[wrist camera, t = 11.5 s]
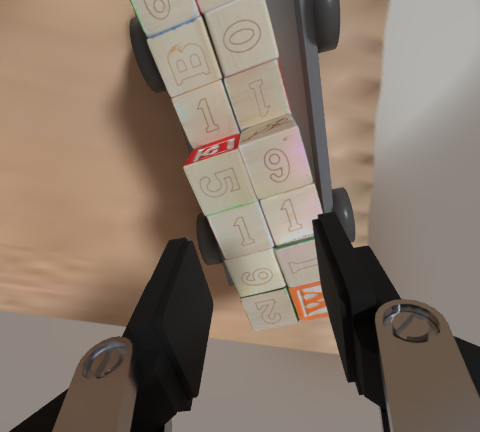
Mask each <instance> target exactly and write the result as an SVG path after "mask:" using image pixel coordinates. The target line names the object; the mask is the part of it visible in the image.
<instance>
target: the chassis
mask: <svg viewBox="0 0 480 432" xmlns="http://www.w3.org/2000/svg"><path fill="white" fill-rule="evenodd" d="M265 1H266V5H267V9H268V13H269V16H270V20H271V24H272V28H273V32H274V36H275V40H276V44H277V48H278V53H279V57H278V61H279V65H280V69H281V73H282V77H283V81H284V85H285V89H286V93H287V97H288V101H289V105H290V108H291V112H292V116H293V118H294V120H295V121H296V123H297V125H298V127H299V130H300V134H301V138H302V141H303V145H304V148H305V152H306V155H307V159H308V163H309V166H310V170H311V173H312V177H313V181H314V184H315V186H316V189H317V193H318V196H319V200H320V203H321V207H322V210H323V213H329V212H335V213H336V215H337V217H338V219H339V221H340V223H341V225H342V227H343V228H344V230H345V232H346V234H347V236H348V238H349V240H350V242H354V240H355V222H354V216H353V211H352V206H351V202H350V199H349V196H348V194H347V192H346V190H345V188H343V187H342V188H336V189H332V188H331V178H330V168H329V158H328V148H327V138H326V128H325V118H324V108H323V99H322V89H321V79H320V69H319V59H318V53H321V52H325V51H330V50H334V49H335V48H336V47H337V44H338V40H339V33H340V2H339V0H265ZM130 37H131V43H132V47H133V51H134V54H135V57H136V60H137V63H138V65H139V68H140V70H141V72H142V74H143V77H144V78H145V80H146V82H147V83H148V85H149V86H150V88H151V89H152V90H153V91H154V92H156V93H159V92H163V91H167V89H166V86H165V84H164V81H163V79H162V77H161V74H160V72H159V70H158V67H157V65H156V63H155V60H154V58H153V56H152V53H151V51H150V49H149V46H148V43H147V36H146V35H145V33H144V31H143V29H142V27H141V25H140V23H139V20H138V18H137V17H136V18H133V19H131V21H130ZM180 123H181V122H180ZM181 126H182V125H181ZM182 129H183V127H182ZM183 133H184V136H185V139H186V143H187V146H188V149H189V153H191V151H193V150H194V149H193V148H192V146H191V144H190V143H189V141H188V138H187V136H186V134H185V131H184V129H183ZM197 239H198V244H199V249H200V252H201V255H202V258H203V260H204V262H205V263H206V264H207V265H212V264H218V263H223V266H224V269H225V272H226V276H227V279H228V282H229V286H232V285H235V284H234V282H233V280H232V278H231V275H230V273H229V271H228V269H227V266H226V264H225V261H224V255H223V253H222V251H221V249H220V247H219V244H218V242H217V240H216V238H215V235H214V233H213V231H212V229H211V226H210V224H209V221H208V219H207V217H206V216H205V215H204V214H203V213H201V214H199V215H198V217H197Z"/></svg>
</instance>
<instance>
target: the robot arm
mask: <svg viewBox="0 0 480 432" xmlns="http://www.w3.org/2000/svg"><path fill="white" fill-rule="evenodd" d="M312 225H313V232H314V240H315V247H316V254H317V261H318V269H319V276H320V283H321V289H322V293H323V297H324V300H325V304H326V307H327V311H328V314H329V318H330V322H331V325H332V329H333V332H334V336H335V339H336V343H337V346H338V350H339V354H340V357H341V361H342V364H343V368H344V371H345V375H346V378H347V381H348V383H349V382H355V383H356V386H357V390H358V393H359V395H364V396H365V397H366V398H368V399H369V400H371V401H372V402H374V403H375V404H377V405H378V406H379V412H380V419H381V427H382V432H480V347H479V346H476V345H474V344H472V343H469V342H467V341H464V340H462V339H460V338H457V337H455V336H453V334H452V332H451V329H450V327H449V325H448V322H447V321H446V320H445V318H444V316H443V315H442V314H441V313H440V312H438V311H437V310H436V309H435V308H433V307H431V306H429V305H427V304H425V303H422V302H419V301H415V300H406V299H401V298H400V296H399V295H398V293H397V291H396V290H395V288H394V286H393V285H392V283H391V281H390V280H389V278H388V277H387V275H386V273H385V271H384V270H383V268H382V266H381V265H380V263H379V261H378V260H377V258H376V256H375V255H374V253H373V251H372V250H371V248H370V247H369V246H362V247H356V248H353V246H352V244H351V242H350V240H349V238H348V236H347V234H346V232H345V230H344V228H343V227H342V225H341V223H340V221H339V219H338V217H337V215H336V213H335V212H329V213H323V214H318V219H313V220H312ZM212 312H213V300H212V296H211V294H210V291H209V288H208V285H207V282H206V279H205V276H204V273H203V270H202V267H201V264H200V261H199V258H198V255H197V252H196V249H195V246H194V244H193V242H192V241H188V240H187V239H186V238H180V239H174V240H169V242H168V243H167V246H166V248H165V250H164V252H163V254H162V256H161V258H160V260H159V262H158V265H157V267H156V269H155V271H154V273H153V275H152V277H151V279H150V281H149V282H148V284H147V286H146V288H145V290H144V292H143V294H142V296H141V298H140V300H139V302H138V304H137V306H136V308H135V311H134V313H133V315H132V317H131V319H130V321H129V323H128V325H127V327H126V329H125V331H124V334H123V336H122V337H119V336H118V337H112V338H109V339H107V340H104V341H102V342H100V343H99V344H97V345H95V346H94V347H93V348H92V349H90V350H89V351H88V352H87V353H86V354H85V355H84V357H83V358H82V359H81V360H80V362H79V364H78V366H77V368H76V371H75V373H74V376H73V378H72V381H71V384H70V386H69V388H68V389H67V390H66V391H64V392H63V393H61V394H60V395H59V396H57V397H56V398H55V399H53V400H52V401H50V402H49V403H48V404H46V405H45V406H44V407H42V408H41V409H40V410H38V411H37V412H35V413H34V414H33V415H31V416H30V417H29V418H27V419H26V420H24V421H23V422H22V423H20V424H19V425H18V426H16V427H15V428H13V429H12V430H11V431H9V432H172V420H171V418H172V417H173V416H175V415H176V413H177V412H182V411H190V410H191V405H192V399H193V398H196V397H197V396H198V394H199V388H200V383H201V377H202V371H203V364H204V359H205V353H206V347H207V341H208V336H209V330H210V324H211V318H212Z"/></svg>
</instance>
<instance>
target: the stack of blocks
mask: <svg viewBox="0 0 480 432" xmlns="http://www.w3.org/2000/svg"><path fill="white" fill-rule="evenodd" d="M130 1H131V4H132V6H133V8H134V11H135V13H136V16H137V18H138V20H139V23H140V25H141V27H142V29H143V31H144V33H145V35H146V36H147V43H148V46H149V49H150V51H151V53H152V56H153V58H154V60H155V63H156V65H157V67H158V70H159V72H160V74H161V77H162V79H163V81H164V84H165V86H166V89H167V91H168V93H169V95H170V97H171V100H172V103H173V106H174V108H175V111H176V113H177V116H178V118H179V120H180V122H181V125H182V127H183V129H184V131H185V134H186V136H187V138H188V141H189V143H190V144H191V146H192V148H193V149H194V150H193V151H191V153H190V155H189V157H188V158H187V159H186V161H185V163H184V164H183V170H184V172H185V174H186V176H187V178H188V181H189V183H190V185H191V187H192V189H193V191H194V194H195V196H196V198H197V200H198V203H199V205H200V207H201V209H202V211H203V214H204V215H205V216H206V217H207V219H208V221H209V224H210V226H211V229H212V231H213V233H214V235H215V238H216V240H217V242H218V244H219V247H220V249H221V251H222V253H223V255H224V261H225V264H226V266H227V269H228V271H229V273H230V275H231V278H232V280H233V282H234V284H235V287H236V289H237V291H238V294H239V295H240V296H241V302H242V304H243V307H244V309H245V312H246V314H247V316H248V319H249V321H250V323H251V326H252V328H253V330H254V331H261V330H265V329H270V328H275V327H280V326H286V325H292V324H296V323H297V322H298V320H300V321H310V320H314V319H318V318H323V317H327V316H329V314H328V311H327V307H326V304H325V300H324V297H323V293H322V289H321V283H320V276H319V269H318V261H317V254H316V247H315V240H314V232H313V225H312V220H313V219H318V214H323V210H322V207H321V203H320V200H319V196H318V193H317V189H316V186H315V184H314V181H313V177H312V173H311V170H310V166H309V163H308V159H307V155H306V152H305V148H304V145H303V141H302V138H301V134H300V130H299V127H298V125H297V123H296V121H295V120H294V118H293V116H292V112H291V108H290V105H289V101H288V97H287V93H286V89H285V85H284V81H283V77H282V73H281V69H280V65H279V61H278V57H279V53H278V48H277V44H276V40H275V36H274V32H273V28H272V24H271V20H270V16H269V13H268V9H267V5H266V1H265V0H130Z"/></svg>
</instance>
